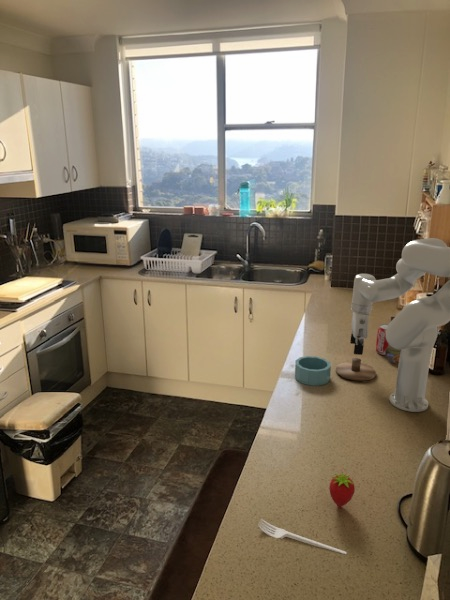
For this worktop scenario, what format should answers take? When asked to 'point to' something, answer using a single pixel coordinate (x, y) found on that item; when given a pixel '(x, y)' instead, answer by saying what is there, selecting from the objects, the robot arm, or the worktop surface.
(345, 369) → the walnut lid
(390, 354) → the tin
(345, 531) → the worktop surface
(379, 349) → the soda can
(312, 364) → the teal bowl
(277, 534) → the fork
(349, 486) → the strawberry
